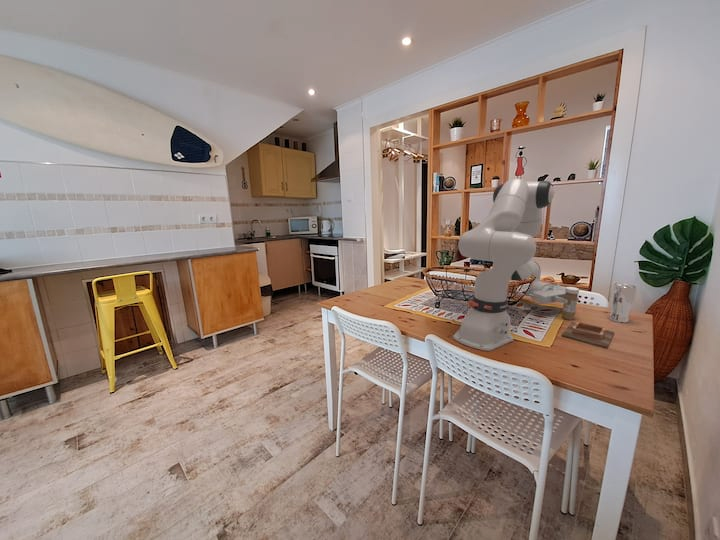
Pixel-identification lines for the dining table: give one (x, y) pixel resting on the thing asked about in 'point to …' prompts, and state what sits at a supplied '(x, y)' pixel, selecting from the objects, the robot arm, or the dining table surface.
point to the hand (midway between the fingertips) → (572, 300)
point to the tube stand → (588, 334)
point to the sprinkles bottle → (570, 303)
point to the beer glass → (622, 301)
